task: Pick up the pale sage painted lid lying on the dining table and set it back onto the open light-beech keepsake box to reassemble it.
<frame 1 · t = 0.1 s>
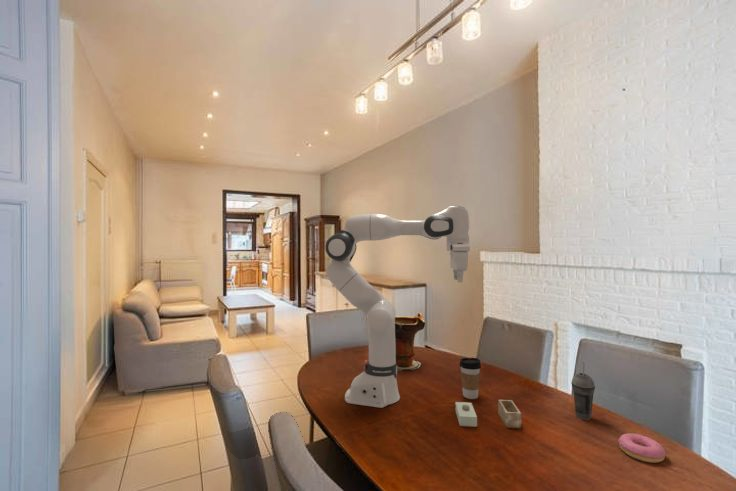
hand: (458, 281, 137), 48 cm above the table, fingers open, 8 cm apart
box base: (509, 420, 121), on the table
doughnut: (641, 454, 101), on the table
coffee cup: (470, 396, 141), on the table
beverage cup: (583, 417, 123), on the table
lid: (465, 419, 123), on the table
decorative vase: (403, 365, 179), on the table
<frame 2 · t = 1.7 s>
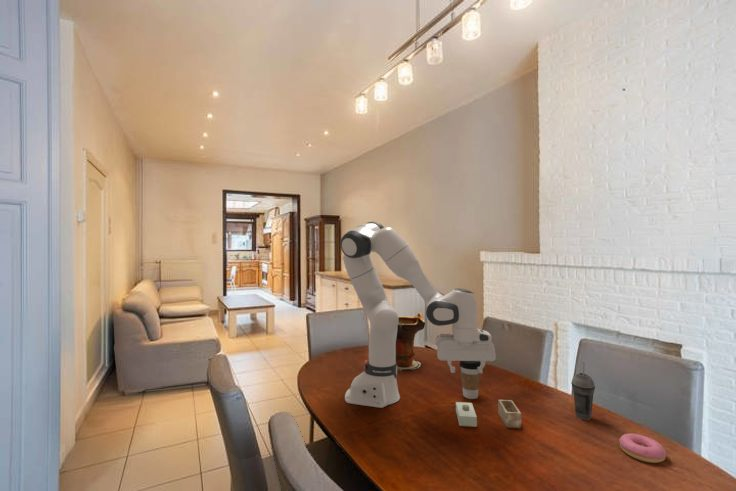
hand: (466, 372, 123), 16 cm above the table, fingers open, 8 cm apart
nothing on the table moved.
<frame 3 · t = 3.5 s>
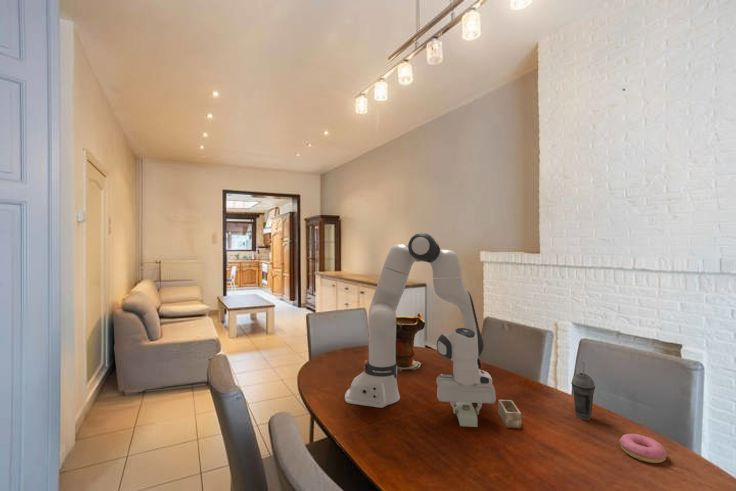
hand: (465, 413, 123), 2 cm above the table, fingers closed on lid, 6 cm apart
lid: (466, 419, 122), on the table, touching gripper
everything else where it was.
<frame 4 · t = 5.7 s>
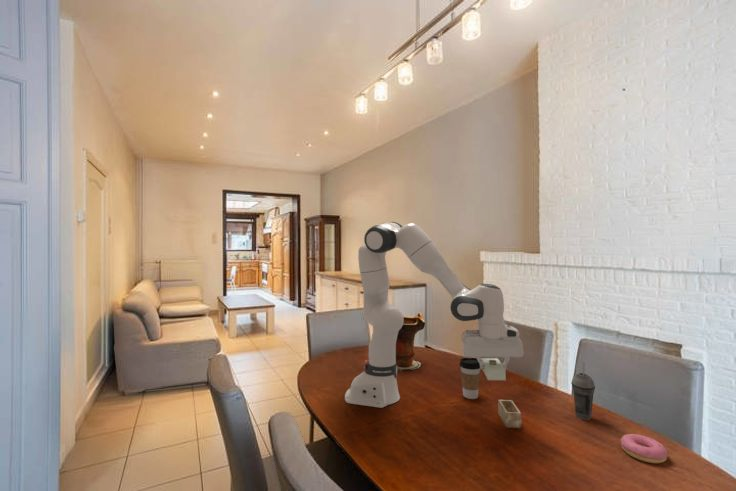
hand: (493, 368, 121), 18 cm above the table, fingers closed on lid, 6 cm apart
lid: (493, 373, 121), point 17 cm above the table, touching gripper
everything else where it was.
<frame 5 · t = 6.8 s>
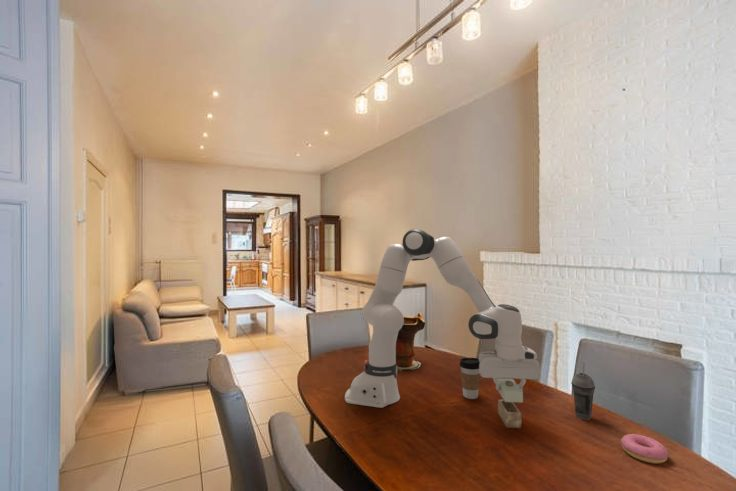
hand: (509, 390, 121), 11 cm above the table, fingers closed on lid, 6 cm apart
lid: (509, 395, 121), point 9 cm above the table, touching gripper
everything else where it was.
when the fingers open (8 cm above the table, at t = 7.9 s): lid stays where it is, resting on box base.
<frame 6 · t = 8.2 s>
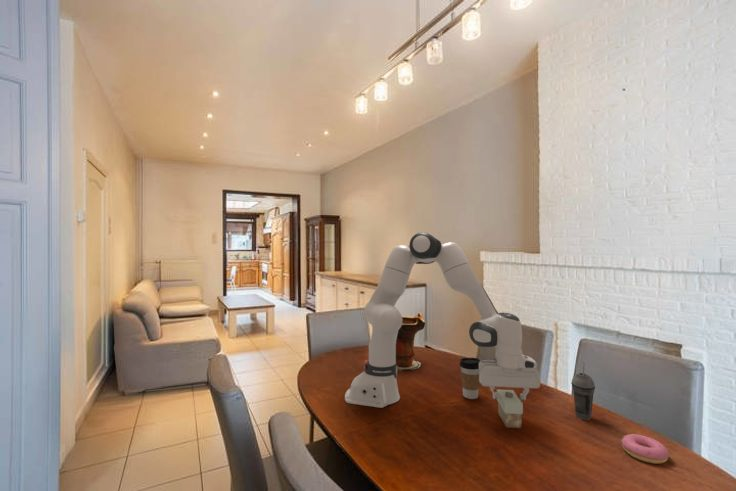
hand: (509, 398, 121), 8 cm above the table, fingers open, 8 cm apart
lid: (509, 406, 121), point 5 cm above the table, touching box base
everything else where it was.
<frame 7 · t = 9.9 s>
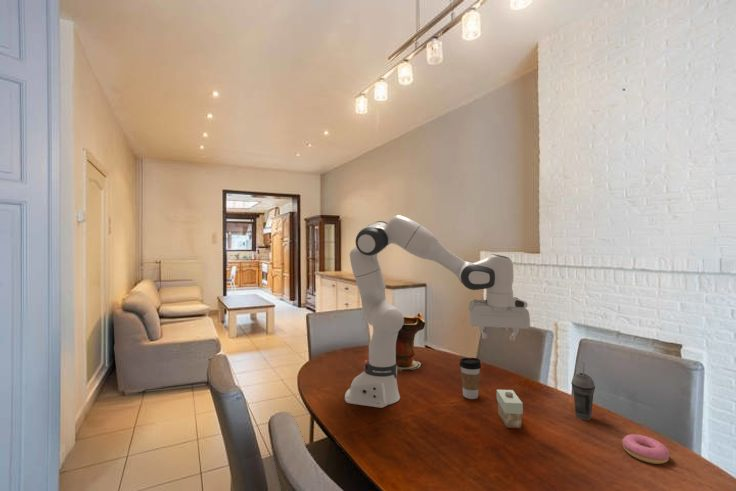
hand: (498, 339, 121), 29 cm above the table, fingers open, 8 cm apart
nothing on the table moved.
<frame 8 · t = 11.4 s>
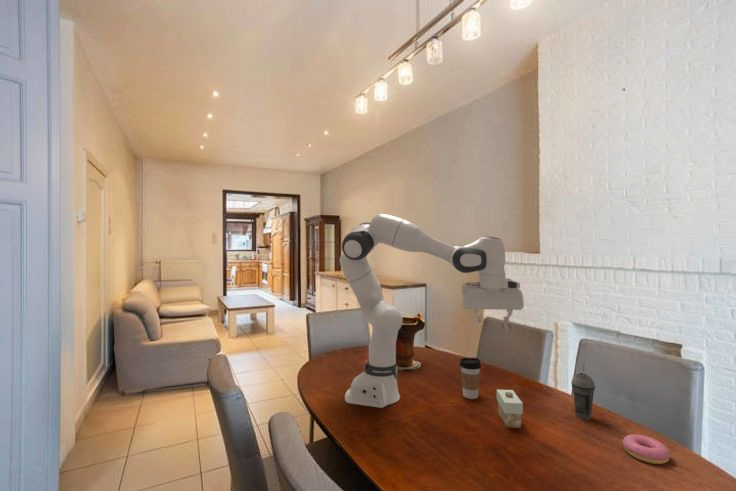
hand: (492, 322, 120), 35 cm above the table, fingers open, 8 cm apart
nothing on the table moved.
at the end: lid 0.1 cm off-centre on the box base, point 5.0 cm above the box base's base; lid tilted 0°; the gripper is holding nothing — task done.
